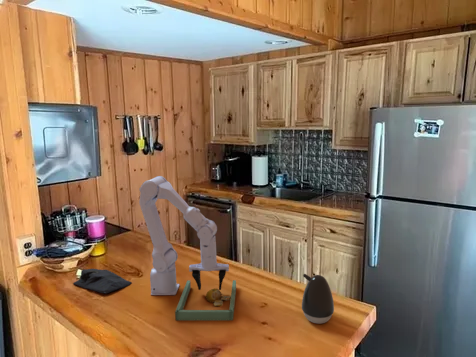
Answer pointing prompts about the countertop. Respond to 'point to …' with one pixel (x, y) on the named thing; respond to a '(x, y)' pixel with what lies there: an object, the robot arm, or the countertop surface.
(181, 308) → the green u-shaped bracket
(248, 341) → the countertop surface
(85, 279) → the black fabric pouch
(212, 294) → the fruit
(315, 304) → the pump dispenser
